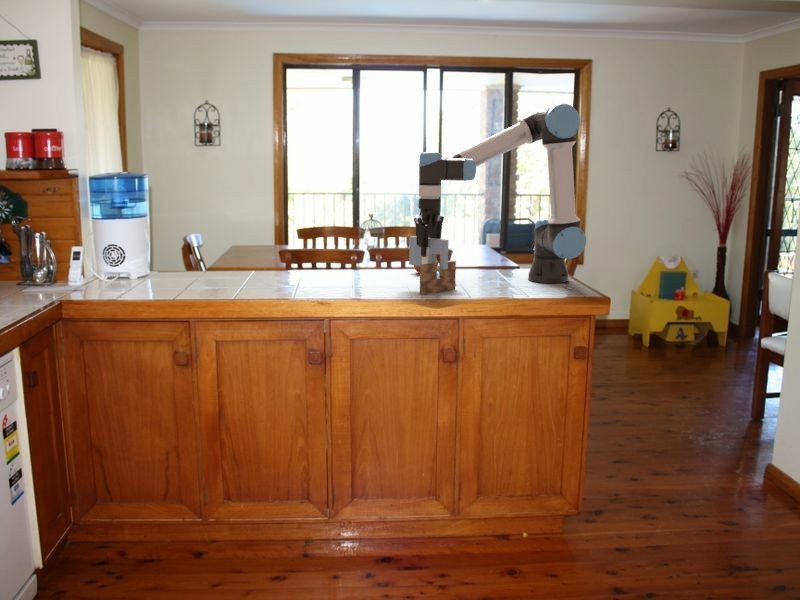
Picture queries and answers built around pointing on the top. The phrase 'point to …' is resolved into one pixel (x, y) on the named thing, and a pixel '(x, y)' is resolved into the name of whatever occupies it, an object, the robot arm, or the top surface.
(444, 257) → the grey notched arch block
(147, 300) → the top surface
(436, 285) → the notched wooden slab
